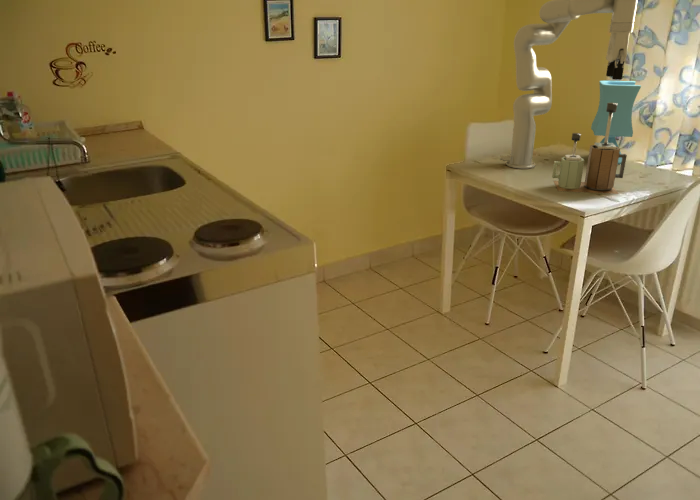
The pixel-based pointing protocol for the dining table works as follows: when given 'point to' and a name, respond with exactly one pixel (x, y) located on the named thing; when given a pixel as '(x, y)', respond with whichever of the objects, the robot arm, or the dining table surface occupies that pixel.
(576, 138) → the green press plunger
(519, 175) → the dining table surface
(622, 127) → the planter
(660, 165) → the dining table surface
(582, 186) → the walnut board
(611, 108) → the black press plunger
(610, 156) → the brown coffee press
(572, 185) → the green press
